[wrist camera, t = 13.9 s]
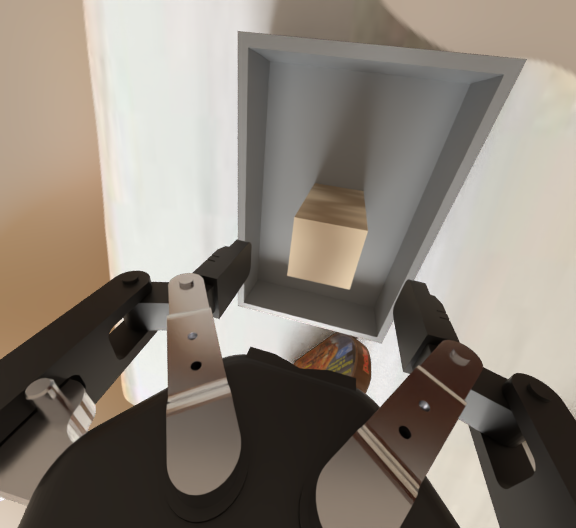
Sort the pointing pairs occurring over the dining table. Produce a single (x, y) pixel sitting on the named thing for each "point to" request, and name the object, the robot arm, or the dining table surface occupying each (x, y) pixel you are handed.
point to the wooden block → (328, 236)
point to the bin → (355, 161)
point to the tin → (340, 358)
